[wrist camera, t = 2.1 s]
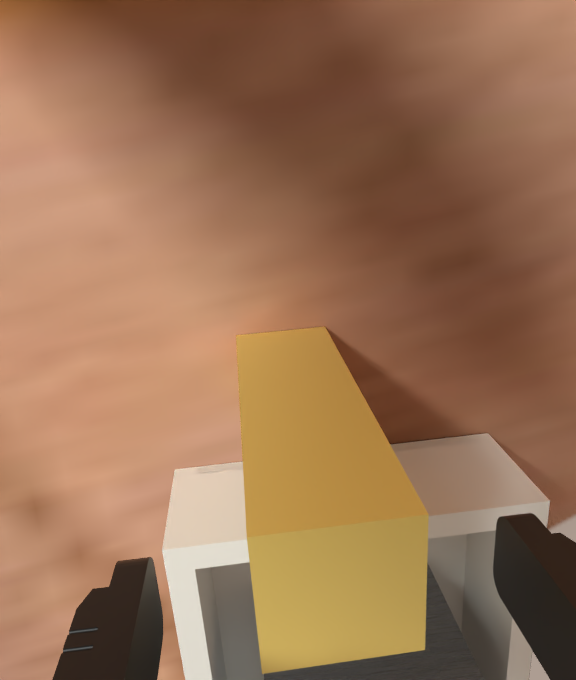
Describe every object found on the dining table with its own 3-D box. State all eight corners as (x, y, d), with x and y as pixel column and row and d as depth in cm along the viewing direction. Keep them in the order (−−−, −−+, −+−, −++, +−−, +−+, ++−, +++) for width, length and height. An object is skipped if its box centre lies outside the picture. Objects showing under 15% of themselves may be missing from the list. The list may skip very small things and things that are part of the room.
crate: (174, 469, 23) (162, 549, 19) (488, 433, 24) (550, 500, 20) (216, 727, 29) (214, 839, 24) (470, 688, 30) (516, 788, 25)
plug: (236, 335, 22) (246, 537, 10) (325, 326, 22) (428, 514, 11) (244, 415, 23) (261, 673, 12) (328, 406, 23) (424, 649, 12)
